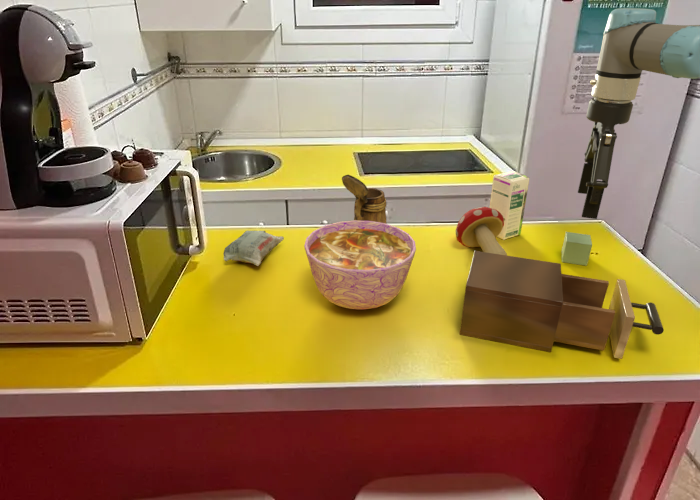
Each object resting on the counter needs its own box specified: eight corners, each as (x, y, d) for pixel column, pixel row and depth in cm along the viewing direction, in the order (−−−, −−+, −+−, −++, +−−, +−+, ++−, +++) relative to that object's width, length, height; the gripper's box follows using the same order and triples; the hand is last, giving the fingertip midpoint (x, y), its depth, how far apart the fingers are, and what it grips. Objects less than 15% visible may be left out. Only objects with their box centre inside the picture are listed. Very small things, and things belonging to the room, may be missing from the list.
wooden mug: (330, 247, 117) (330, 170, 108) (364, 226, 126) (366, 154, 118) (363, 258, 112) (365, 179, 104) (395, 235, 122) (399, 162, 113)
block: (585, 255, 114) (590, 234, 112) (587, 265, 110) (592, 244, 108) (561, 251, 115) (565, 231, 113) (561, 262, 111) (566, 241, 109)
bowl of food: (340, 262, 110) (340, 212, 105) (428, 287, 102) (433, 234, 96) (284, 308, 95) (281, 252, 90) (382, 342, 86) (385, 283, 81)
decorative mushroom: (519, 238, 102) (488, 188, 111) (468, 264, 104) (442, 213, 114) (531, 265, 110) (500, 216, 120) (483, 288, 112) (457, 239, 122)
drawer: (644, 323, 90) (657, 285, 86) (657, 365, 80) (672, 324, 76) (532, 304, 95) (540, 266, 91) (531, 341, 85) (540, 301, 82)
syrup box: (503, 240, 120) (513, 181, 113) (485, 231, 124) (493, 173, 118) (520, 235, 123) (531, 176, 116) (501, 226, 127) (511, 169, 120)
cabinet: (550, 310, 95) (560, 263, 90) (551, 352, 84) (563, 301, 80) (468, 295, 99) (474, 250, 94) (459, 334, 88) (465, 285, 84)
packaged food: (284, 248, 116) (282, 228, 113) (259, 273, 106) (256, 252, 104) (249, 242, 118) (247, 222, 116) (221, 266, 108) (219, 245, 106)
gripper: (585, 86, 108) (565, 182, 118) (595, 112, 87) (569, 226, 97) (624, 88, 106) (600, 186, 116) (645, 115, 85) (613, 232, 95)
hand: (586, 204), depth 107 cm, fingers open, 13 cm apart
